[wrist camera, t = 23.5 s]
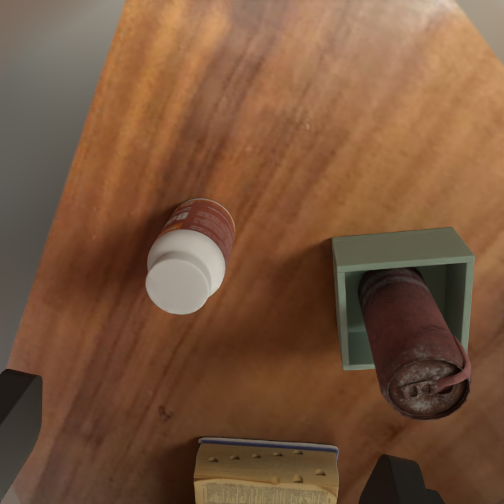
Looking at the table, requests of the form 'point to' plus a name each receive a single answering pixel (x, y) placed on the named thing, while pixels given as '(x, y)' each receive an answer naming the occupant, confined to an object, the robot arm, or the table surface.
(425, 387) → the can
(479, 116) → the table surface
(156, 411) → the table surface
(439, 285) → the green tray box
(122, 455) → the table surface
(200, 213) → the pill bottle
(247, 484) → the book
